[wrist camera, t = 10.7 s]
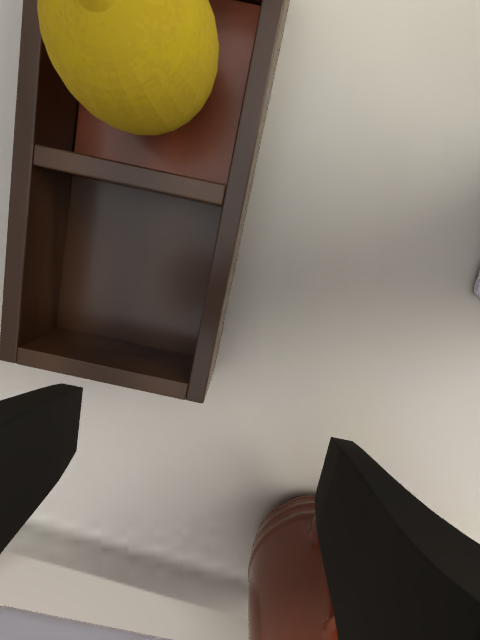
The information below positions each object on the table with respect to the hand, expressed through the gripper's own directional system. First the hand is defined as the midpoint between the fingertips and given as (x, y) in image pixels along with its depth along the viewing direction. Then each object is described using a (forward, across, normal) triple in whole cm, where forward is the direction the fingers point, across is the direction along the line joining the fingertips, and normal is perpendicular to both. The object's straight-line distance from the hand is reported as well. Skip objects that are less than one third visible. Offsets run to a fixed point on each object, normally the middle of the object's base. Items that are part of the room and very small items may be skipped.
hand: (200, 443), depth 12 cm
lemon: (+9, +5, -11) cm, 15 cm away
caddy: (+10, +5, -7) cm, 13 cm away
